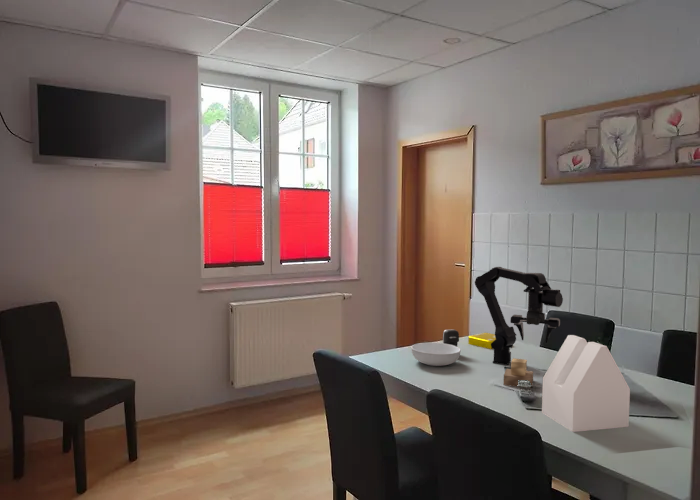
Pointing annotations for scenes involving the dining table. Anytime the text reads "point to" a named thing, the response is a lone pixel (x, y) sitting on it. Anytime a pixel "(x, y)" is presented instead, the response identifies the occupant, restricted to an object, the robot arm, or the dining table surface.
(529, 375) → the walnut base
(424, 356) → the serving bowl
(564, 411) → the white slotted house block
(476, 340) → the element tile
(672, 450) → the dining table surface
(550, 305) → the robot arm
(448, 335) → the battery charger
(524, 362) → the oak cube
